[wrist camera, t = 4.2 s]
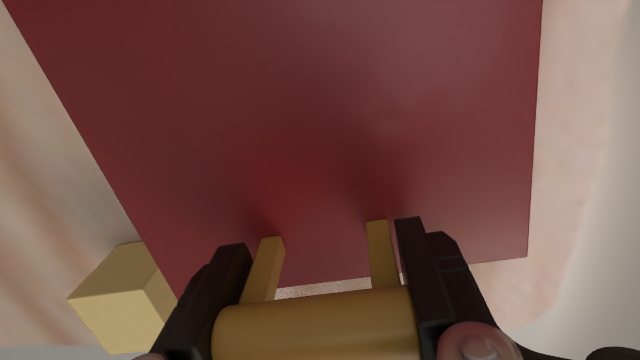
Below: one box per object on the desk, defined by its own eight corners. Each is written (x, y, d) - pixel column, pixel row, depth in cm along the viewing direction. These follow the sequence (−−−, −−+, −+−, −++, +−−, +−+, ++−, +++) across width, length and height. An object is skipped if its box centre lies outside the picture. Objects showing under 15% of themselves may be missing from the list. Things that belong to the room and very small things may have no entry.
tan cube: (150, 295, 21) (109, 355, 18) (118, 244, 20) (64, 299, 16) (209, 287, 21) (179, 348, 17) (181, 234, 19) (141, 289, 15)
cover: (518, 243, 11) (634, 401, 7) (185, 287, 13) (102, 431, 9) (536, -176, 7) (959, -586, 2) (19, -9, 9) (-339, -29, 4)
